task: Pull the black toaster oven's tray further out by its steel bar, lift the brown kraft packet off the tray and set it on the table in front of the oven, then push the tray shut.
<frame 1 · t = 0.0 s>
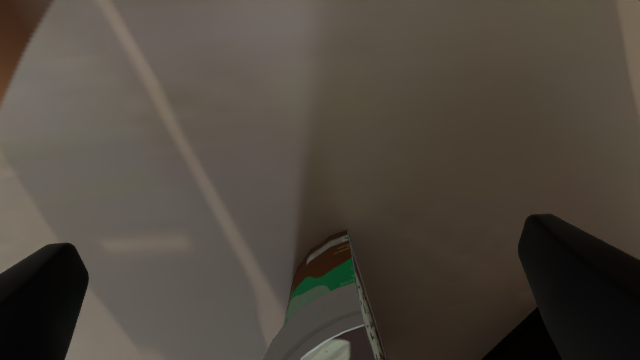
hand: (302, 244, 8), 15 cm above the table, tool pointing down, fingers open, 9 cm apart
food container: (321, 301, 27), on the table
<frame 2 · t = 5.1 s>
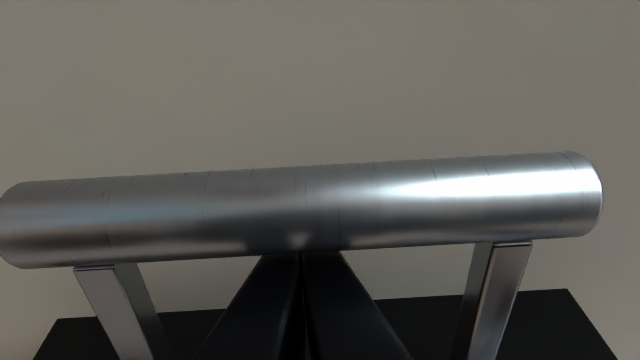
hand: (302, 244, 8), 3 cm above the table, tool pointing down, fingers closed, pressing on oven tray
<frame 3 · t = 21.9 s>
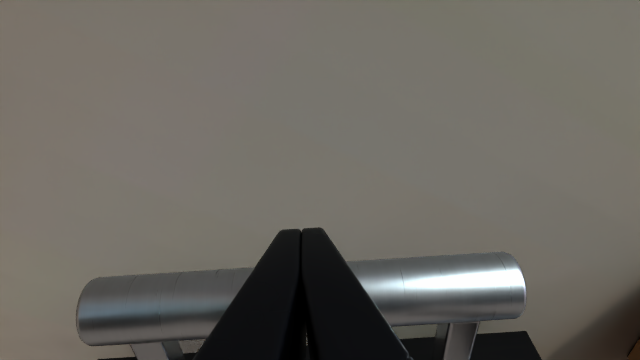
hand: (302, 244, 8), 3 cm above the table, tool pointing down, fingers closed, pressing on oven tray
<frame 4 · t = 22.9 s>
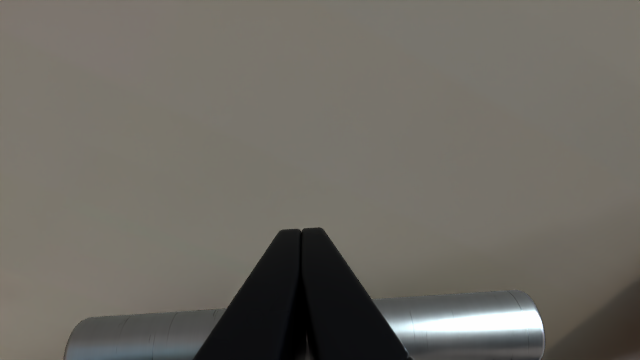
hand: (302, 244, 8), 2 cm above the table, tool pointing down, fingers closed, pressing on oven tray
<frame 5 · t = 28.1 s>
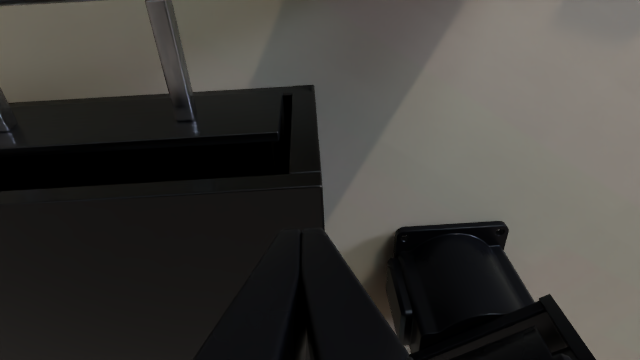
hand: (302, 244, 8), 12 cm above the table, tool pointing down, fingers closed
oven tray: (126, 191, 18), point 3 cm above the table, slide at 0.2 cm
toaster oven: (140, 216, 22), on the table
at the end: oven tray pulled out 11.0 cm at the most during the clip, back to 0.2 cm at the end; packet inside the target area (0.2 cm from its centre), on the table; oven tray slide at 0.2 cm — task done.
